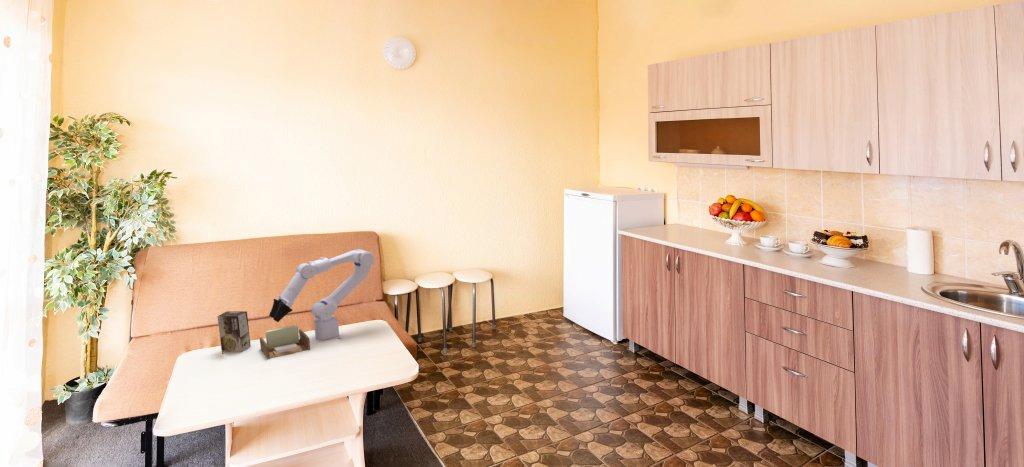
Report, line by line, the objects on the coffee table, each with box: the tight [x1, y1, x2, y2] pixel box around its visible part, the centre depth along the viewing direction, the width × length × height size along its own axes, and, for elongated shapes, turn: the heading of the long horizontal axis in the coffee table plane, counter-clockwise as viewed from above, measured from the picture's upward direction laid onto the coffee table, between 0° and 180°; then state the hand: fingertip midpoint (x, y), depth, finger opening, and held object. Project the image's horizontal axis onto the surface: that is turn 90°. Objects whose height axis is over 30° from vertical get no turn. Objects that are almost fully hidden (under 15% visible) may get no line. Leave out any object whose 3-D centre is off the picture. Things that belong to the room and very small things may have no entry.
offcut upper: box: [274, 344, 298, 353], centre depth 211 cm, size 8×4×1 cm, turn 125°
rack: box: [259, 328, 311, 360], centre depth 214 cm, size 16×13×6 cm
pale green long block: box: [265, 324, 300, 349], centre depth 216 cm, size 12×2×8 cm, turn 125°
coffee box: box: [217, 310, 252, 355], centre depth 215 cm, size 9×6×16 cm
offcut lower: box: [273, 345, 303, 358], centre depth 211 cm, size 10×4×1 cm, turn 125°
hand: (273, 318), depth 214 cm, fingers open, 7 cm apart
